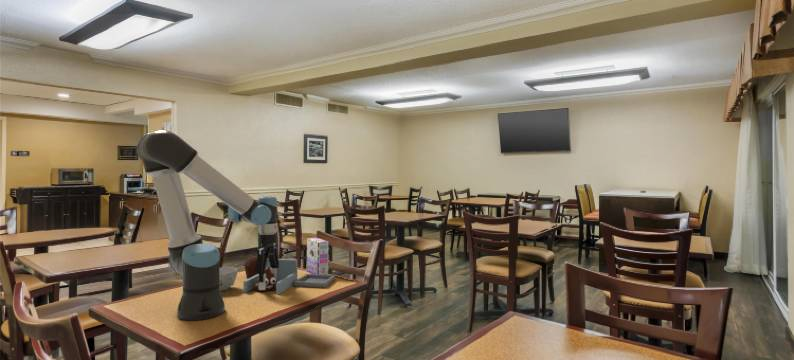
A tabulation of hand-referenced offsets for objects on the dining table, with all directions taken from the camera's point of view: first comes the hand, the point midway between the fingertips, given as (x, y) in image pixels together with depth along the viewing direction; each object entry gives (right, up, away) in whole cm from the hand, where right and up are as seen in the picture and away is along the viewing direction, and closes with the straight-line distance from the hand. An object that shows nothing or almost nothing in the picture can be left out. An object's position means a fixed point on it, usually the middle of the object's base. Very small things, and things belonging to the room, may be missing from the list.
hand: (267, 286), depth 178 cm
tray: (+18, -1, +10) cm, 21 cm away
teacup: (-18, -1, -1) cm, 18 cm away
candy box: (+16, -1, +28) cm, 32 cm away
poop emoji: (0, -1, 0) cm, 1 cm away
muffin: (-11, -1, +19) cm, 22 cm away
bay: (+1, -1, +4) cm, 4 cm away
